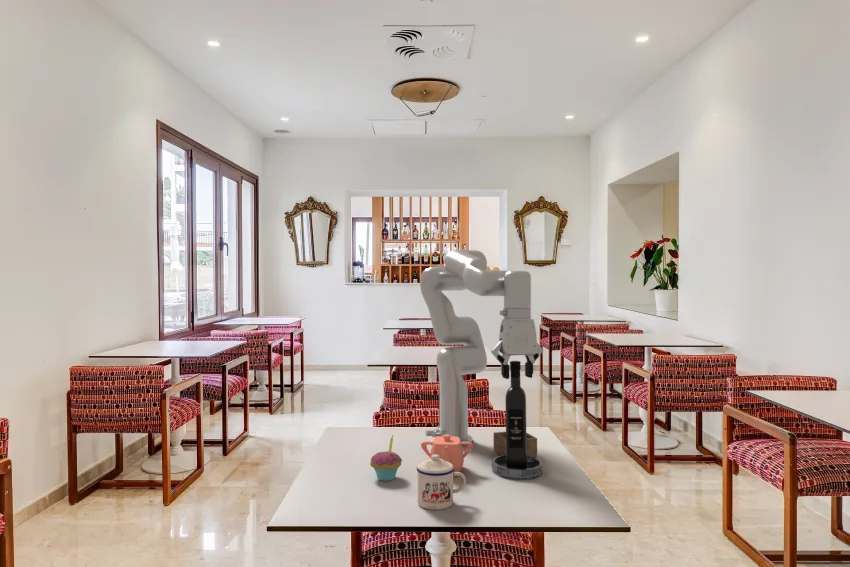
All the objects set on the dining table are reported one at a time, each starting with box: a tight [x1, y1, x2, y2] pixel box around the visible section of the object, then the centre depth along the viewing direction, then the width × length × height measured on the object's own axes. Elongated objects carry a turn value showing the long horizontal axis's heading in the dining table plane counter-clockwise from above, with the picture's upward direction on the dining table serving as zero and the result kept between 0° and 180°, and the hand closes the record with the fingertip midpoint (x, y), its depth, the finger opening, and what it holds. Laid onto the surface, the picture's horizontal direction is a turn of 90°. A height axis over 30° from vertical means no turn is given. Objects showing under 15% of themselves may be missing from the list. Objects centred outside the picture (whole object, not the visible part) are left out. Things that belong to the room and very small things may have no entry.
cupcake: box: [369, 434, 403, 482], centre depth 157 cm, size 9×8×12 cm
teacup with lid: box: [416, 454, 467, 511], centre depth 139 cm, size 12×9×12 cm
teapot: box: [420, 434, 474, 472], centre depth 163 cm, size 14×12×10 cm
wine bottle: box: [505, 360, 527, 469], centre depth 163 cm, size 6×6×30 cm
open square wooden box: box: [493, 431, 538, 458], centre depth 178 cm, size 10×10×6 cm
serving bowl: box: [491, 455, 543, 480], centre depth 163 cm, size 14×14×3 cm
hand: (517, 377), depth 162 cm, fingers open, 6 cm apart
